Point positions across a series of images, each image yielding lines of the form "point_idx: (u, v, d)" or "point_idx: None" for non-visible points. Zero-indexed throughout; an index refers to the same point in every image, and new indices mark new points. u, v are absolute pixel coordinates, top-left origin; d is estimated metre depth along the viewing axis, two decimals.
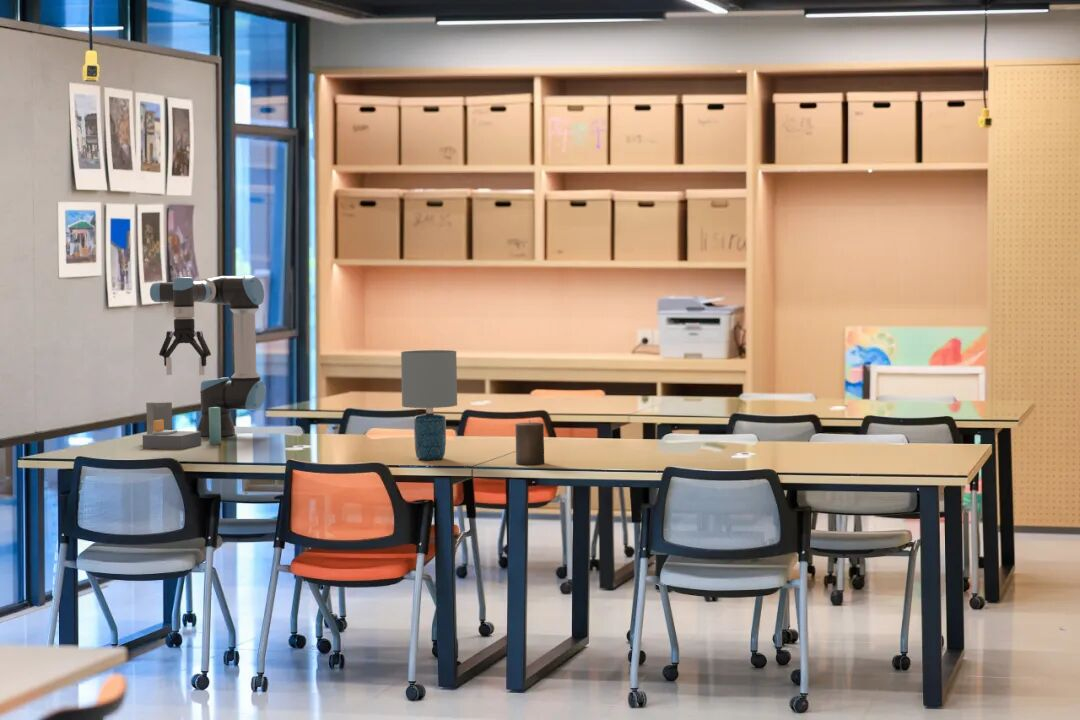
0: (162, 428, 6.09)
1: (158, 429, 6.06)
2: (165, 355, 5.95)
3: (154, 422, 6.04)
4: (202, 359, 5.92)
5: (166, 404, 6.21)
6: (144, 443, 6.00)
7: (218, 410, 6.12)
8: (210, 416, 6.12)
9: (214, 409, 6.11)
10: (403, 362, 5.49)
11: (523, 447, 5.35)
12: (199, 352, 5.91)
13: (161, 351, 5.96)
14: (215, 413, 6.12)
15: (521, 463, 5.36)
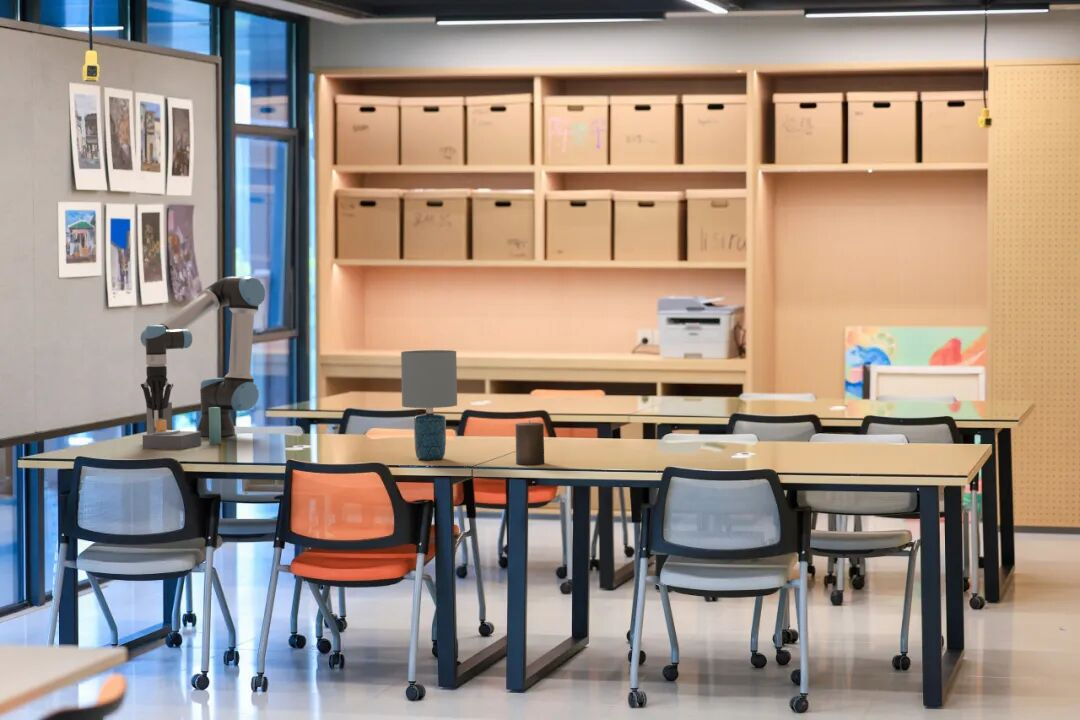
0: (165, 428, 6.08)
1: (161, 429, 6.05)
2: (153, 407, 6.06)
3: (157, 422, 6.04)
4: (159, 411, 6.06)
5: None
6: (144, 443, 6.00)
7: (218, 410, 6.12)
8: (210, 416, 6.12)
9: (214, 409, 6.11)
10: (403, 362, 5.49)
11: (523, 447, 5.35)
12: (158, 404, 6.05)
13: (147, 404, 6.07)
14: (215, 413, 6.12)
15: (521, 463, 5.36)
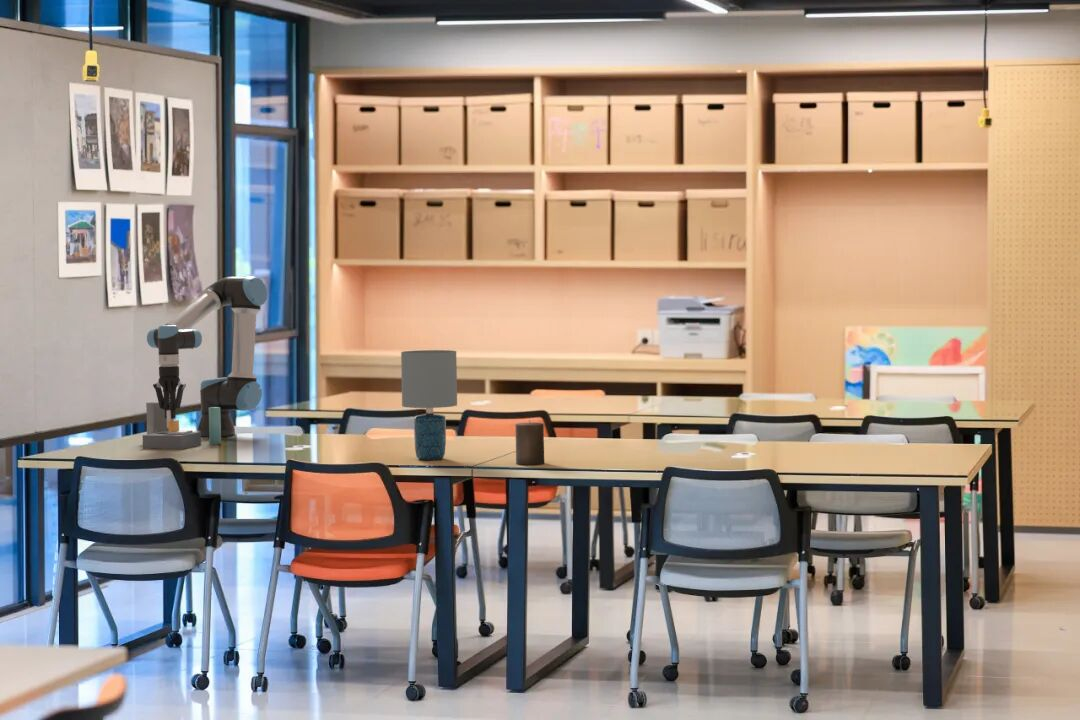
0: (177, 428, 6.07)
1: (173, 429, 6.04)
2: (165, 408, 6.05)
3: (169, 422, 6.03)
4: (171, 411, 6.05)
5: None
6: (144, 443, 6.00)
7: (218, 410, 6.12)
8: (210, 416, 6.12)
9: (214, 409, 6.11)
10: (403, 362, 5.49)
11: (523, 447, 5.35)
12: (171, 404, 6.04)
13: (160, 404, 6.05)
14: (215, 413, 6.12)
15: (521, 463, 5.36)
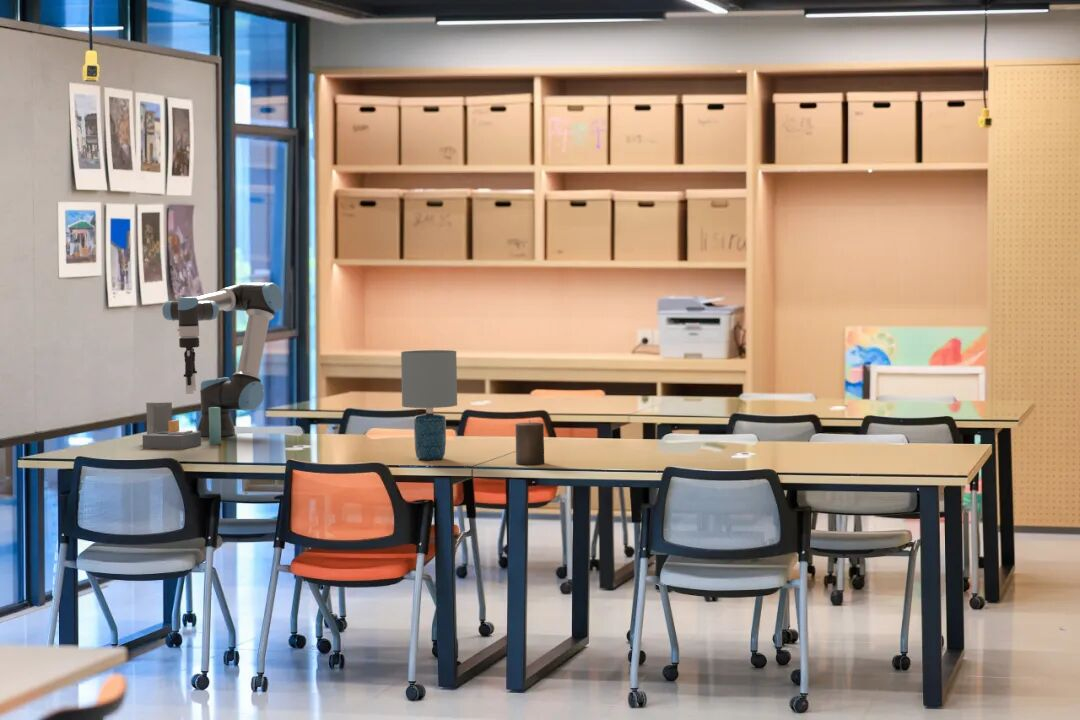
0: (177, 428, 6.07)
1: (173, 429, 6.04)
2: None
3: (169, 422, 6.03)
4: (187, 378, 6.03)
5: (166, 404, 6.21)
6: (144, 443, 6.00)
7: (218, 410, 6.12)
8: (210, 416, 6.12)
9: (214, 409, 6.11)
10: (403, 362, 5.49)
11: (523, 447, 5.35)
12: None
13: None
14: (215, 413, 6.12)
15: (521, 463, 5.36)
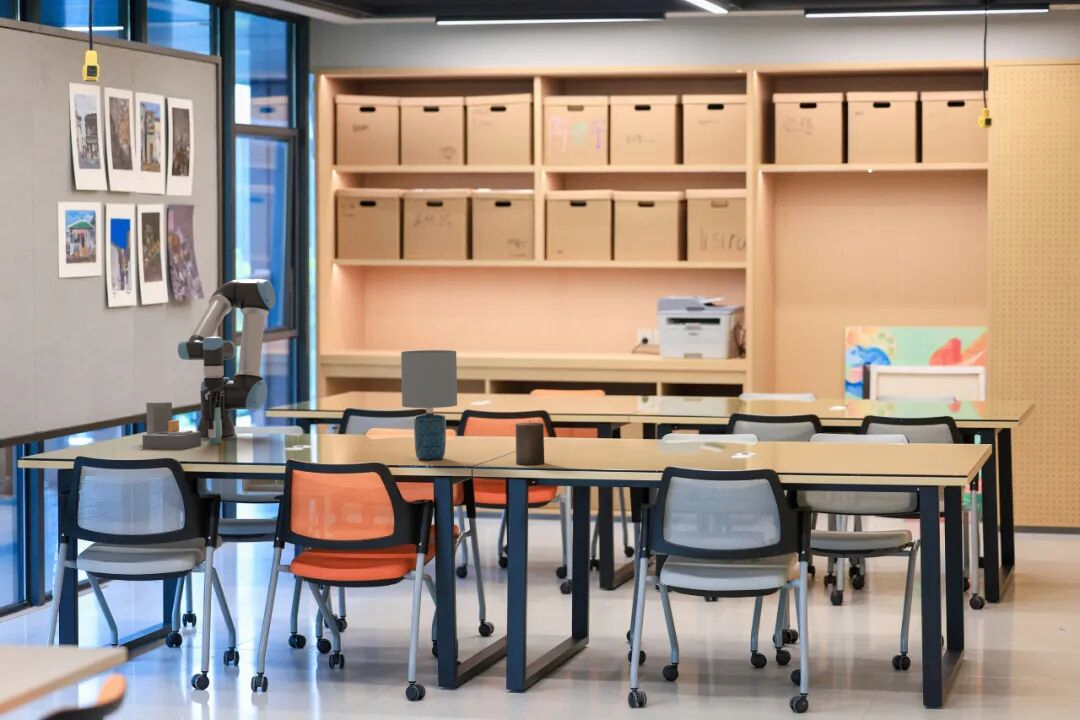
0: (177, 428, 6.07)
1: (173, 429, 6.04)
2: None
3: (169, 422, 6.03)
4: None
5: (166, 404, 6.21)
6: (144, 443, 6.00)
7: (218, 410, 6.12)
8: None
9: None
10: (403, 362, 5.49)
11: (523, 447, 5.35)
12: None
13: None
14: (215, 413, 6.12)
15: (521, 463, 5.36)
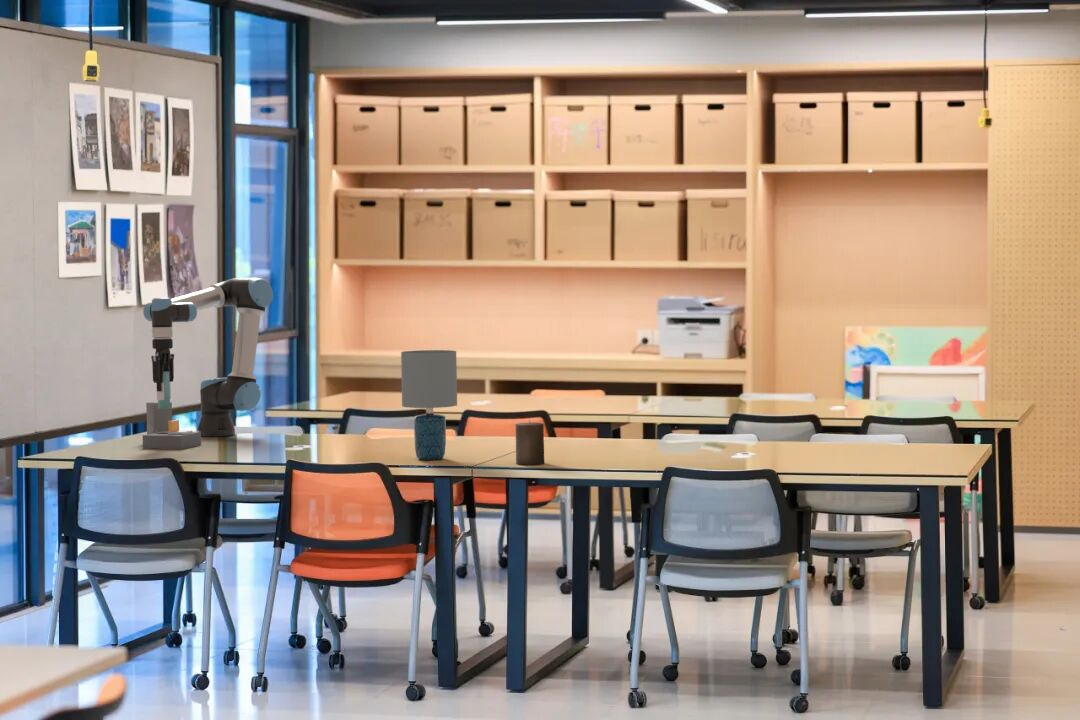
0: (177, 428, 6.07)
1: (173, 429, 6.04)
2: None
3: (169, 422, 6.03)
4: None
5: None
6: (144, 443, 6.00)
7: (167, 374, 6.04)
8: None
9: (163, 373, 6.03)
10: (403, 362, 5.49)
11: (523, 447, 5.35)
12: None
13: None
14: (164, 377, 6.03)
15: (521, 463, 5.36)
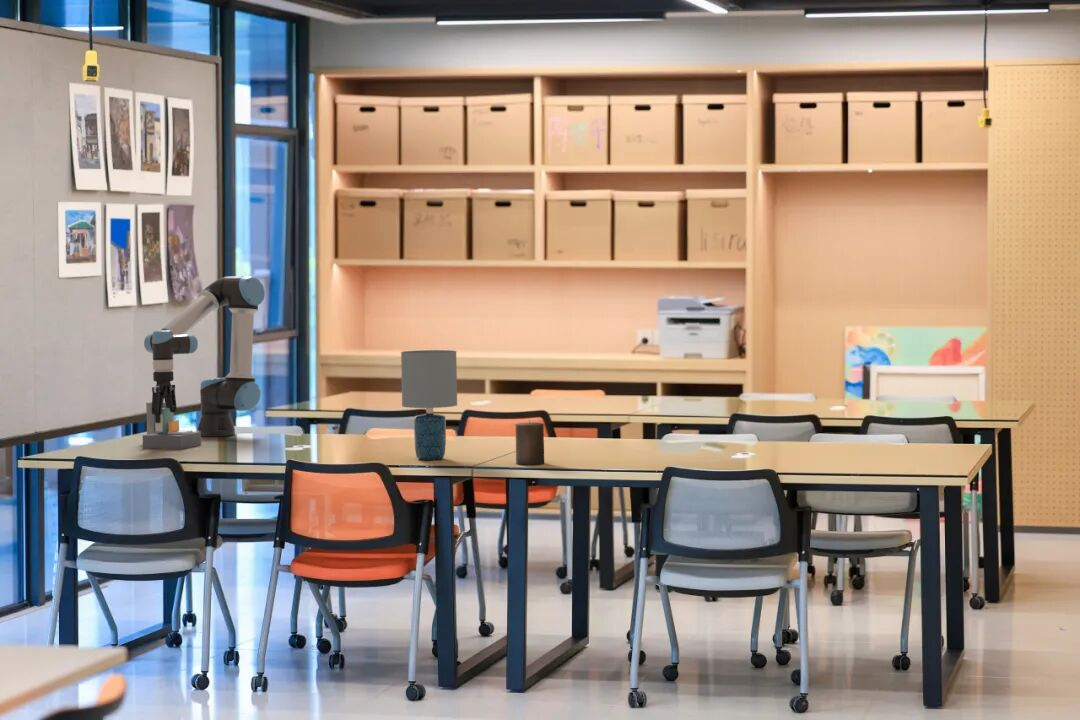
0: (177, 428, 6.07)
1: (173, 429, 6.04)
2: None
3: (169, 422, 6.03)
4: None
5: None
6: (144, 443, 6.00)
7: (167, 411, 6.05)
8: None
9: (163, 410, 6.04)
10: (403, 362, 5.49)
11: (523, 447, 5.35)
12: None
13: None
14: (164, 414, 6.04)
15: (521, 463, 5.36)
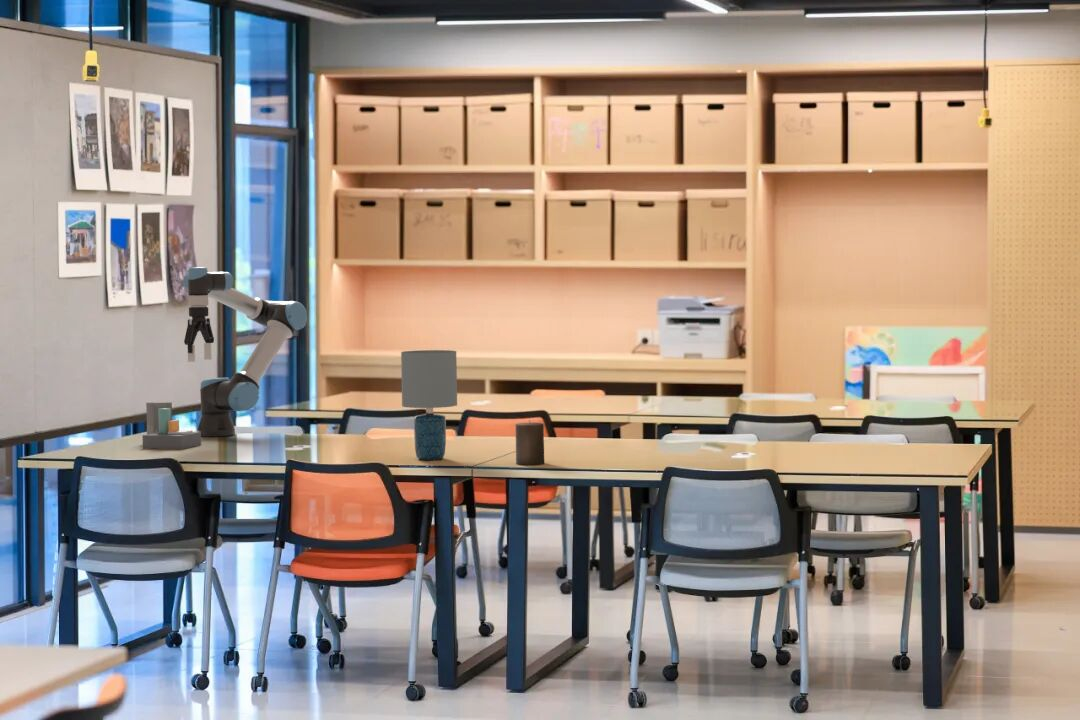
0: (177, 428, 6.07)
1: (173, 429, 6.04)
2: None
3: (169, 422, 6.03)
4: None
5: (166, 404, 6.21)
6: (144, 443, 6.00)
7: (168, 411, 6.05)
8: (160, 417, 6.04)
9: (164, 410, 6.04)
10: (403, 362, 5.49)
11: (523, 447, 5.35)
12: None
13: None
14: (165, 414, 6.04)
15: (521, 463, 5.36)
